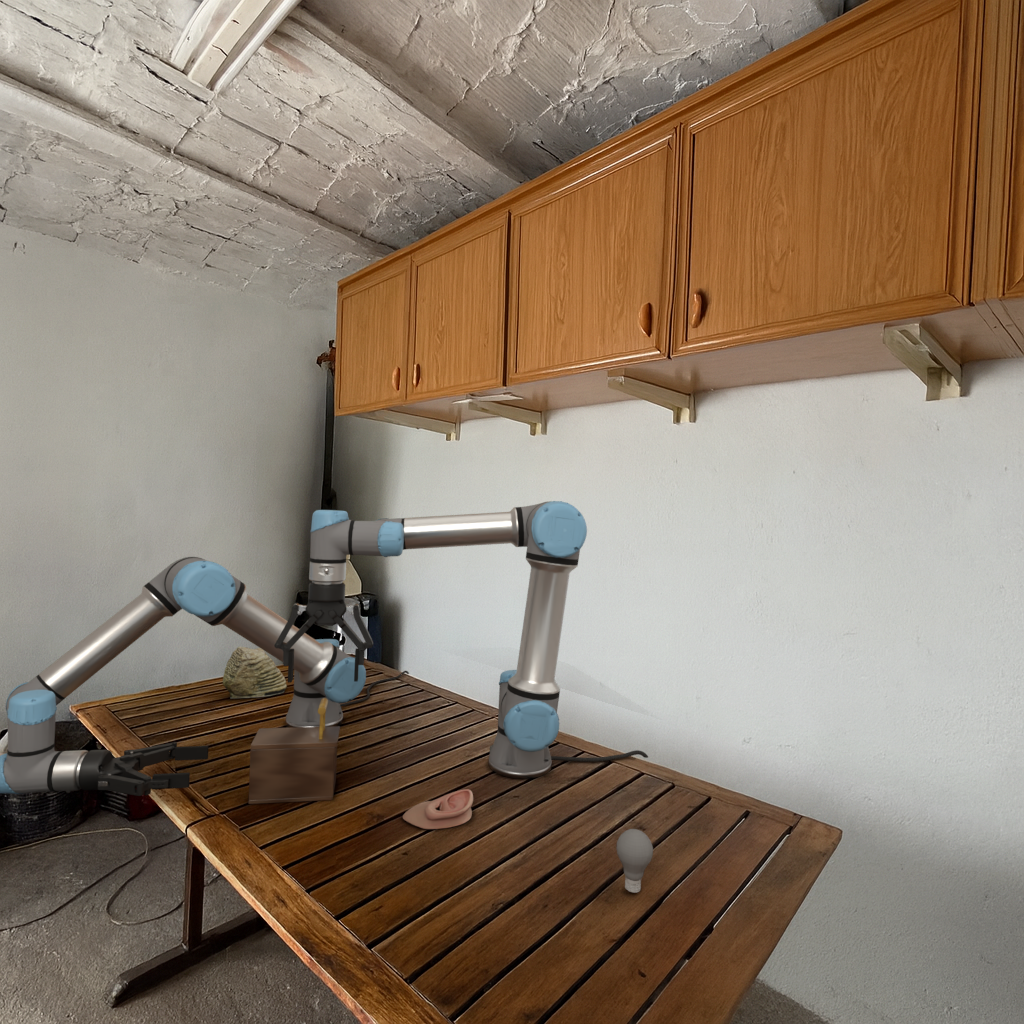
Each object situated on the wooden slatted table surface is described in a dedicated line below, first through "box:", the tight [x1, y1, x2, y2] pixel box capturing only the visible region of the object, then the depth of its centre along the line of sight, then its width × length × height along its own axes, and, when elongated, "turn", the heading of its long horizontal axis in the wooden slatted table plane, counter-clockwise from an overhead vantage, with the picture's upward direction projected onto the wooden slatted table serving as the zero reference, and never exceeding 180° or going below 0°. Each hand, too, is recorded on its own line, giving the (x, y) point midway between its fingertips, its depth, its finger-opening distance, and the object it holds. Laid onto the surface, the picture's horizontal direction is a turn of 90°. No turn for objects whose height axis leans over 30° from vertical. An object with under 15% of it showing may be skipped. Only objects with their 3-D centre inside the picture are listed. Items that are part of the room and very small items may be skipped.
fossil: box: [222, 646, 288, 699], centre depth 198 cm, size 9×18×15 cm, turn 132°
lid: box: [250, 698, 341, 750], centre depth 135 cm, size 17×9×8 cm, turn 102°
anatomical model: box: [402, 788, 474, 830], centre depth 128 cm, size 13×4×12 cm
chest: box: [248, 746, 338, 805], centre depth 135 cm, size 17×9×11 cm, turn 102°
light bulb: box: [615, 828, 654, 894], centre depth 106 cm, size 6×6×10 cm
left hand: (199, 765), depth 132 cm, fingers open, 13 cm apart
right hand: (323, 680), depth 136 cm, fingers open, 13 cm apart
